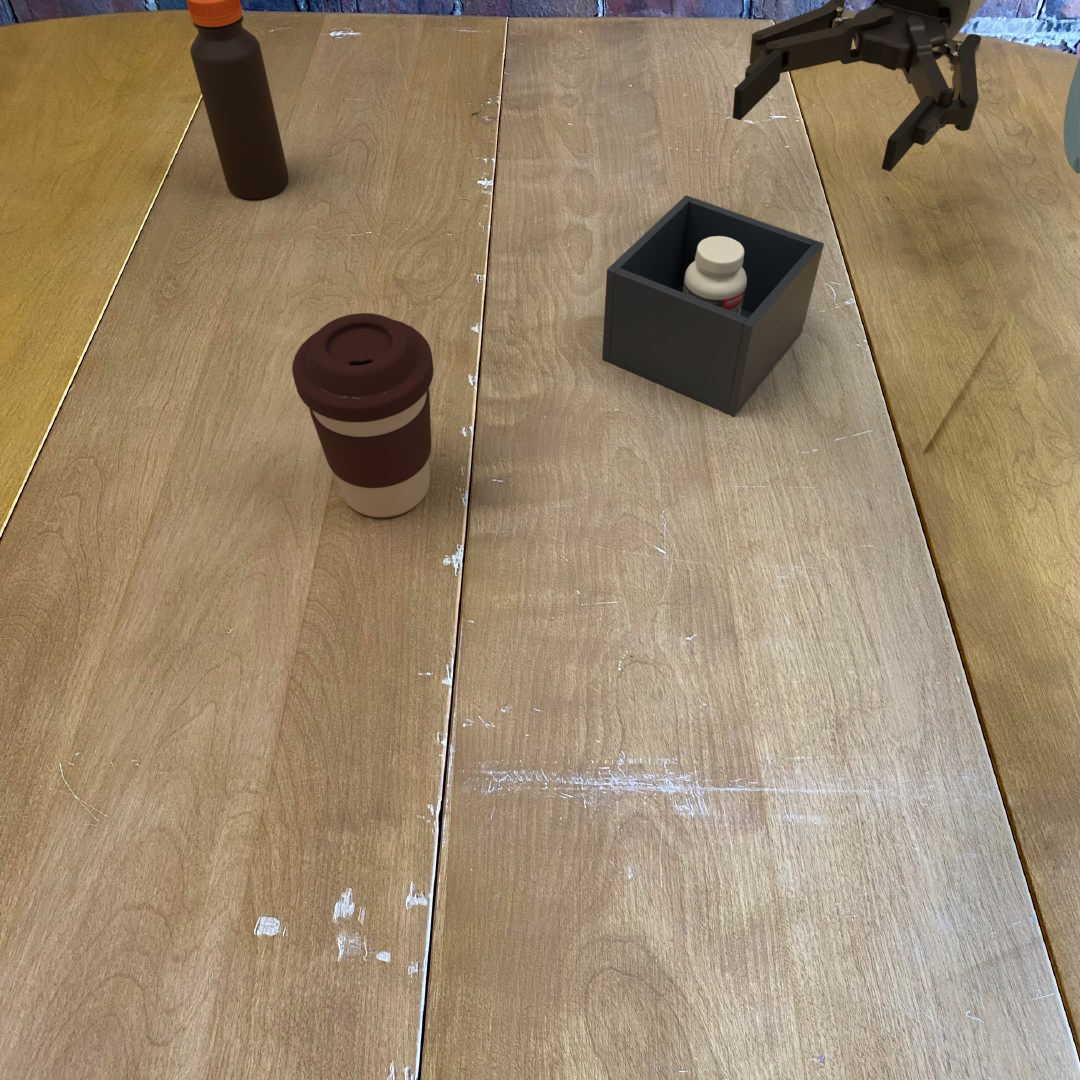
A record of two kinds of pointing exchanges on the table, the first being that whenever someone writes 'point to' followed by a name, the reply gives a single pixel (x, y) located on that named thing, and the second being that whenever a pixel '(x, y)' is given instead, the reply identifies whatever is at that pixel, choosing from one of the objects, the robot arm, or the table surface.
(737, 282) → the pill bottle
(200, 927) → the table surface
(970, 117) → the robot arm
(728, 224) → the waste bin
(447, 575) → the table surface
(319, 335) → the coffee cup
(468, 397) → the table surface
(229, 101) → the brown water bottle
